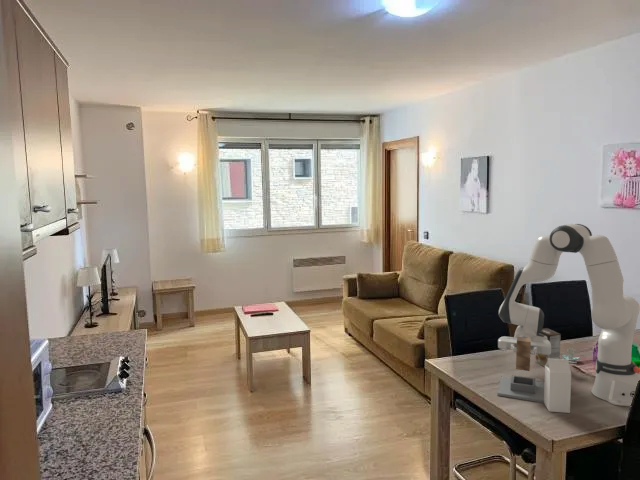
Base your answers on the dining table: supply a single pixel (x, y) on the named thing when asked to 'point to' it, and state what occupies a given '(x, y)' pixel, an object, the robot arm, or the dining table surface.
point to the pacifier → (570, 356)
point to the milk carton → (557, 385)
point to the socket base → (521, 388)
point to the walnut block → (523, 353)
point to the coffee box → (555, 347)
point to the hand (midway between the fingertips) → (523, 351)
